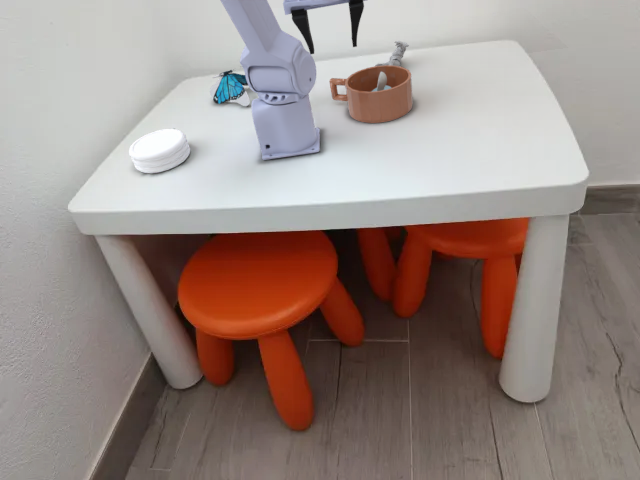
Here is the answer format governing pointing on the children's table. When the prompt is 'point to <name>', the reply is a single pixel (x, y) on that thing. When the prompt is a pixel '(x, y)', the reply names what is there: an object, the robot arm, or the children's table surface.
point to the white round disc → (159, 150)
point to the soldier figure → (396, 54)
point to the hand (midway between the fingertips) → (333, 48)
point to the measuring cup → (376, 94)
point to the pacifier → (382, 82)
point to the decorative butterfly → (230, 88)
